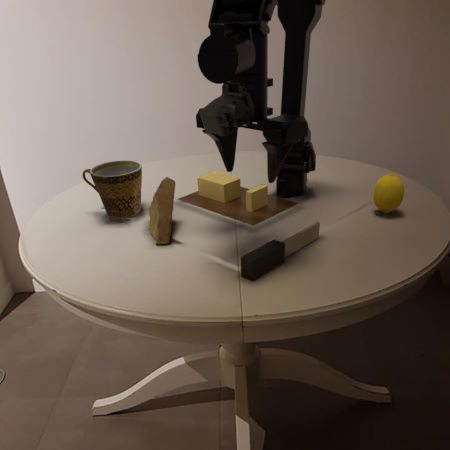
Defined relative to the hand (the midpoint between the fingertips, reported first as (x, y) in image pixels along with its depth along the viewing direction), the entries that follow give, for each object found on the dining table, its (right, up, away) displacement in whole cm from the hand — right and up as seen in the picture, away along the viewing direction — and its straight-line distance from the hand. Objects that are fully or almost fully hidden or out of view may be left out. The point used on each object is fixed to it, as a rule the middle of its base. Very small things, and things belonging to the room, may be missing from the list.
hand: (249, 176), depth 77 cm
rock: (-16, -8, +12) cm, 22 cm away
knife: (+6, -13, +1) cm, 14 cm away
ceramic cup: (-26, -3, +20) cm, 33 cm away
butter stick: (-5, +2, +24) cm, 25 cm away
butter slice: (+2, -2, +17) cm, 18 cm away
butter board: (-2, 0, +21) cm, 21 cm away
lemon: (+27, -4, +15) cm, 31 cm away
